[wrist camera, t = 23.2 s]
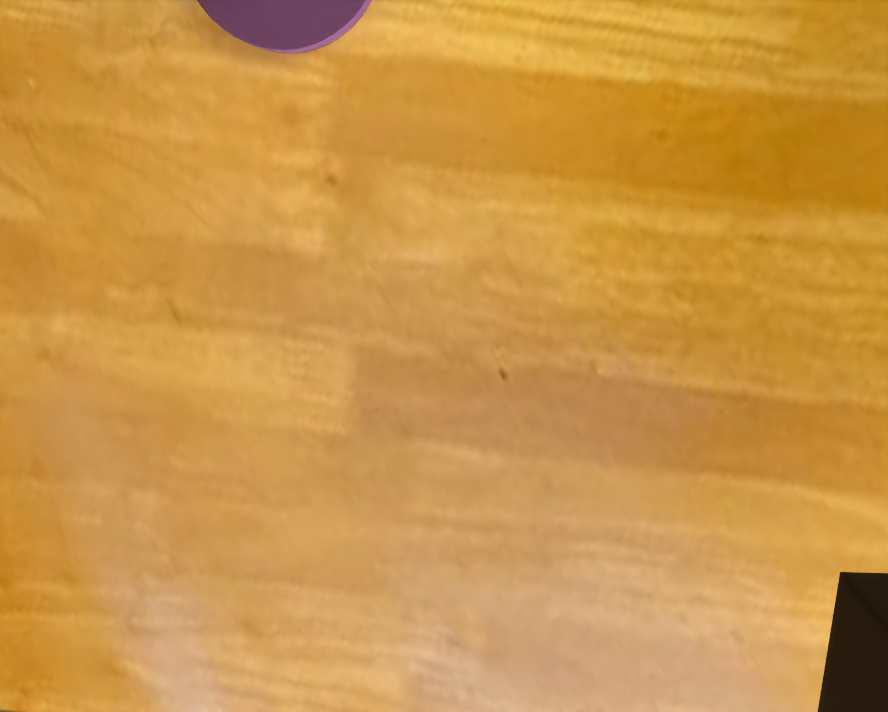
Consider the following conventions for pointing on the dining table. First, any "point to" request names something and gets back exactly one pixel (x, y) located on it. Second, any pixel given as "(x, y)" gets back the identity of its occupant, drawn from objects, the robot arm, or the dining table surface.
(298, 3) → the lid
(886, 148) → the dining table surface
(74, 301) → the dining table surface
